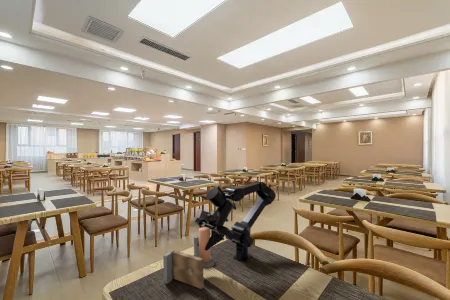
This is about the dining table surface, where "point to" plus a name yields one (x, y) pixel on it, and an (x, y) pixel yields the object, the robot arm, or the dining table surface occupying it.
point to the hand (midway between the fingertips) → (201, 248)
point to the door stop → (203, 240)
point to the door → (187, 269)
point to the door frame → (168, 261)
